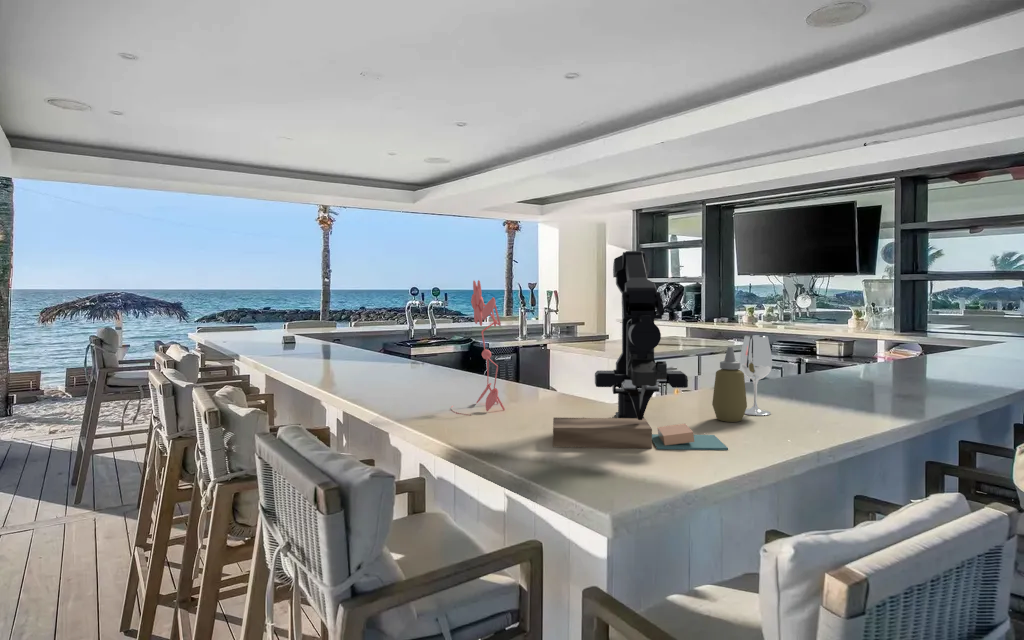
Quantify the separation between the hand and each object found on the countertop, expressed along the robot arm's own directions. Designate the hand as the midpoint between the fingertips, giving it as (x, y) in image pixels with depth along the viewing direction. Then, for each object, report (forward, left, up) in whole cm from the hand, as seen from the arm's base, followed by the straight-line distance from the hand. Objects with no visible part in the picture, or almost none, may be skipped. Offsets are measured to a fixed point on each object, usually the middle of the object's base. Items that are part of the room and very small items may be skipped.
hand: (639, 419), depth 129 cm
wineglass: (-32, +34, -5) cm, 47 cm away
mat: (0, +10, -5) cm, 11 cm away
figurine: (-35, -39, -5) cm, 53 cm away
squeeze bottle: (-23, +25, -5) cm, 34 cm away
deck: (0, -8, -5) cm, 10 cm away
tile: (0, +7, -2) cm, 7 cm away
